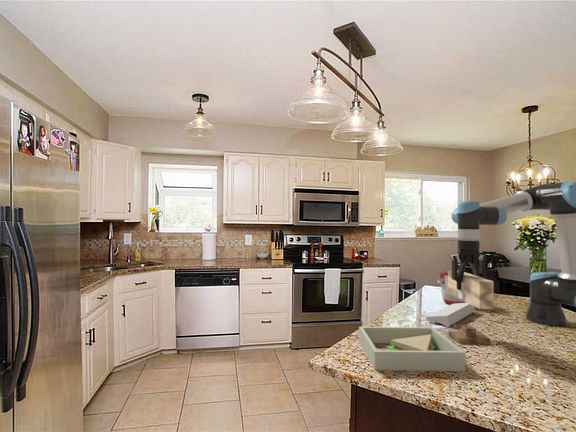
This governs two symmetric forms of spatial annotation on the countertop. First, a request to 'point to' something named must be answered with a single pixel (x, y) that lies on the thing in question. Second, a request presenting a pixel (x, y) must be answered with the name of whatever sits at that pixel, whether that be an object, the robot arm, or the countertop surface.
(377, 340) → the sandwich crate
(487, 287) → the beam
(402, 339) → the sandwich
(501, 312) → the countertop surface
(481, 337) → the fulcrum
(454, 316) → the decorative molding
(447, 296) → the citrus juicer
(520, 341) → the countertop surface
